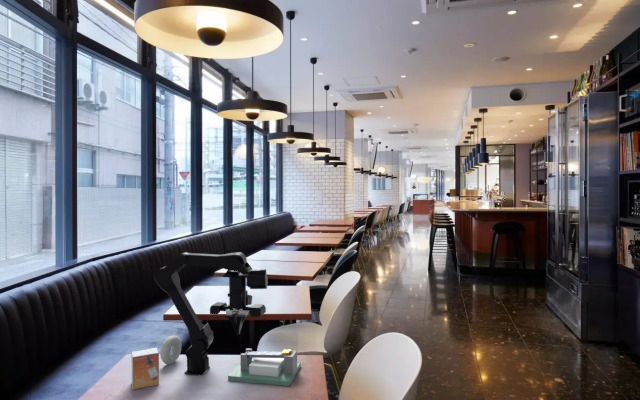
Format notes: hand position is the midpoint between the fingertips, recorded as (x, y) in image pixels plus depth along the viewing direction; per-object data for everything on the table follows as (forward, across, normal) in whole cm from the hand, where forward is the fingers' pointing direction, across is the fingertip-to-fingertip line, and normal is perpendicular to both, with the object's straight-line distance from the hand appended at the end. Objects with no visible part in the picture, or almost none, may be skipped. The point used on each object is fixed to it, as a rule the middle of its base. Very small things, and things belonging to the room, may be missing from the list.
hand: (238, 333), depth 143 cm
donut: (+13, +27, -1) cm, 30 cm away
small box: (+13, +26, +15) cm, 33 cm away
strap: (+7, -11, 0) cm, 13 cm away
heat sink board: (+13, -10, 0) cm, 16 cm away
